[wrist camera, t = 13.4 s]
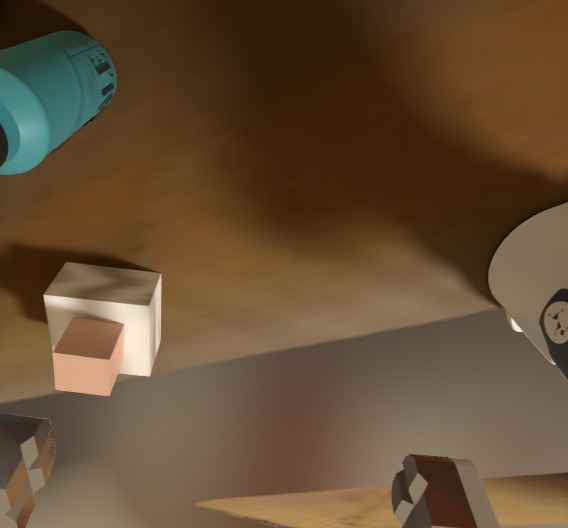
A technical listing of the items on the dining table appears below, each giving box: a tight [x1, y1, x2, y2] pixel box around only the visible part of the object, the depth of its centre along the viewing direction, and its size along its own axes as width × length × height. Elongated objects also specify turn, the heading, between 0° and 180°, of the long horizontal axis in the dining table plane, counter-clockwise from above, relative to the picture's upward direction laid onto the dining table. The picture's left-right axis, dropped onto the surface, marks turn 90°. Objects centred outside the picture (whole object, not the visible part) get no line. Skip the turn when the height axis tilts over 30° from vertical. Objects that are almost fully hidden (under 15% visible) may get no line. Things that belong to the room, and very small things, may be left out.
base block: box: [43, 262, 161, 376], centre depth 49 cm, size 10×10×6 cm
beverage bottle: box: [0, 30, 117, 175], centre depth 29 cm, size 6×7×20 cm
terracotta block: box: [53, 317, 124, 396], centre depth 44 cm, size 5×5×5 cm
